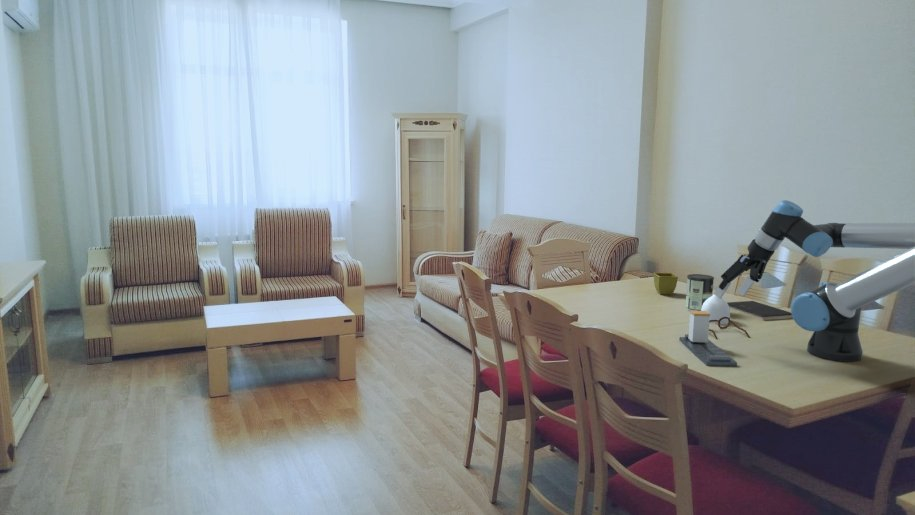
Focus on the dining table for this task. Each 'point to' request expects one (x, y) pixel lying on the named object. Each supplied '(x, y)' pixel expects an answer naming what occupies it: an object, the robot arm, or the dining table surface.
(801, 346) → the dining table surface
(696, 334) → the fader knob
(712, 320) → the glasses
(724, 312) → the teardrop
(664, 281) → the flower pot
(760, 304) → the hardcover book
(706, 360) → the board
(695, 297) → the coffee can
